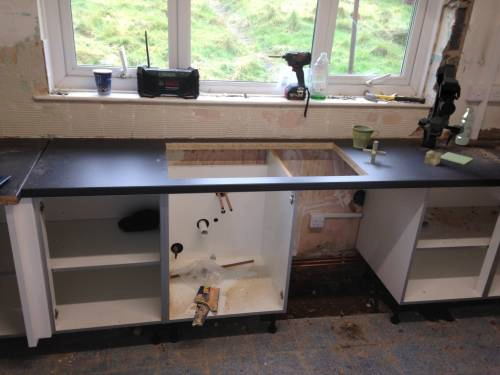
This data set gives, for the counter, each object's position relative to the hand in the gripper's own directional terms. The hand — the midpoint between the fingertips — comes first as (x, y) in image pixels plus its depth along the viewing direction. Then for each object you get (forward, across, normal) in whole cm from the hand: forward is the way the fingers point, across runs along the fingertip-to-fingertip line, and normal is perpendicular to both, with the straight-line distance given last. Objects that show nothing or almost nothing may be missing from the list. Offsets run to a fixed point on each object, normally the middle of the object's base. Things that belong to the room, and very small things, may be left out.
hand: (436, 144), depth 194 cm
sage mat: (+9, +5, +16) cm, 19 cm away
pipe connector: (+9, -18, -23) cm, 31 cm away
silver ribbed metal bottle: (+9, -2, +42) cm, 43 cm away
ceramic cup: (+9, -33, -6) cm, 35 cm away
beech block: (+9, 0, 0) cm, 9 cm away
